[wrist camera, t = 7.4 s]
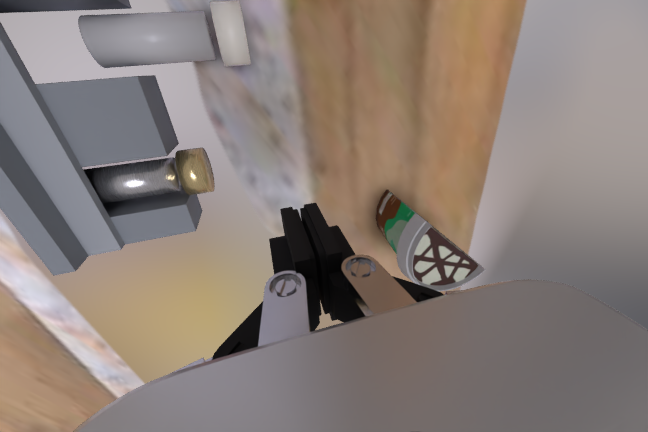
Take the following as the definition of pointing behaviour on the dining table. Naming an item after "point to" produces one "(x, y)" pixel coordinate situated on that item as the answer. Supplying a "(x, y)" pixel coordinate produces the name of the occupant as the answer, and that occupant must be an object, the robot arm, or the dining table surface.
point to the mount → (80, 155)
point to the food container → (423, 248)
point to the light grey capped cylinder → (166, 37)
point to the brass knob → (154, 177)
